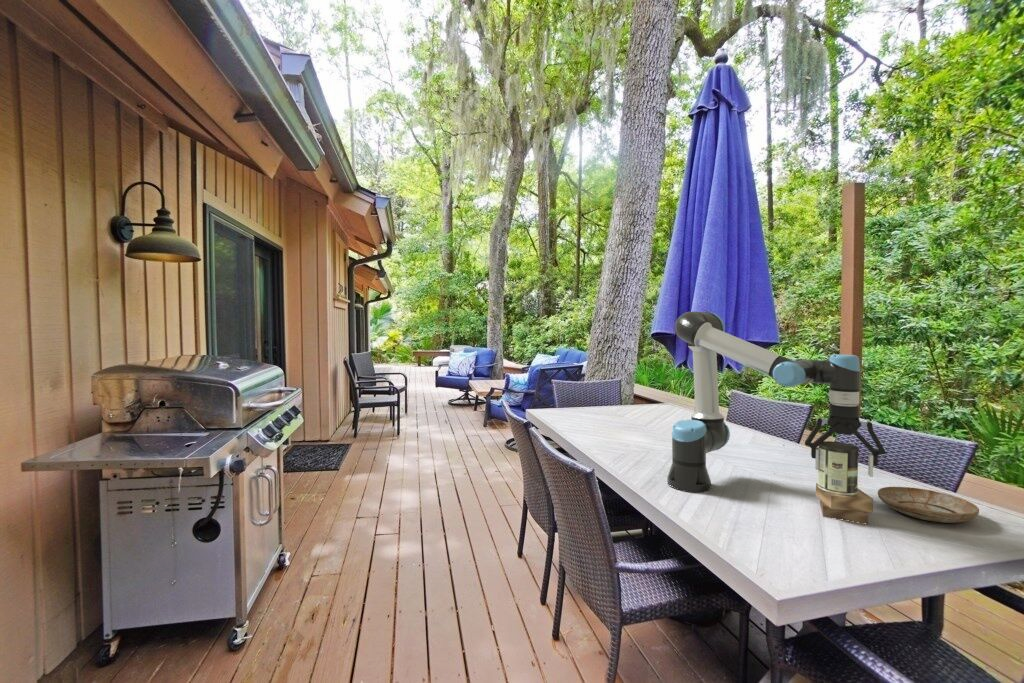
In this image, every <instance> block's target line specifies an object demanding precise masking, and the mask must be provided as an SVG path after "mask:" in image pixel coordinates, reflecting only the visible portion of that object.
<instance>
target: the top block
mask: <svg viewBox="0 0 1024 683" xmlns="http://www.w3.org/2000/svg"><path fill="white" fill-rule="evenodd" d="M857 492H858V493H857V494H856V495H838V494H833V493H829V492H826V491H823V490H821V489H820V488H818V482H817V483H815V497H817V498H818V499H819V501H820V500H822V501H823V502H824V503H825V504H826V505H827V506H828V507H830V508H831V509H841V510H852V511H863V512H868V513H874V497H871V496H870V495H869V494H867V493H865V492H864V491H863V490H861V489H860V488H857Z"/></svg>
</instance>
